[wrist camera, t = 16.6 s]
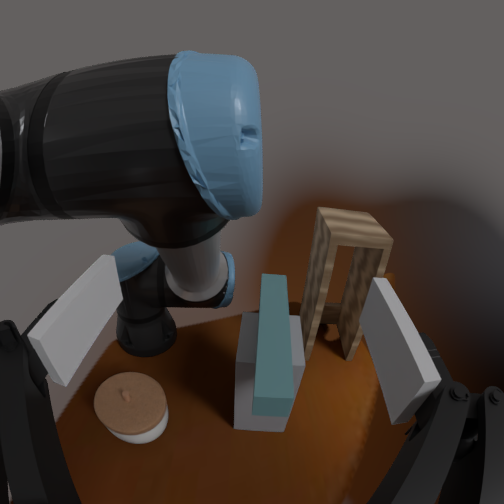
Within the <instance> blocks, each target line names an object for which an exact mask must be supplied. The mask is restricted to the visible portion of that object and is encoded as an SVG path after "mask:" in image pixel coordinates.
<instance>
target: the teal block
mask: <svg viewBox="0 0 504 504" xmlns="http://www.w3.org/2000/svg"><path fill="white" fill-rule="evenodd" d="M293 400H294V384H293V366H292V349H291V334H290V319H289V306H288V293H287V281H286V276H285V275H273V274H262V279H261V290H260V304H259V319H258V334H257V348H256V363H255V376H254V390H253V403H252V415H256V416H274V417H288V415H289V412H290V409H291V406H292V403H293Z"/></svg>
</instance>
